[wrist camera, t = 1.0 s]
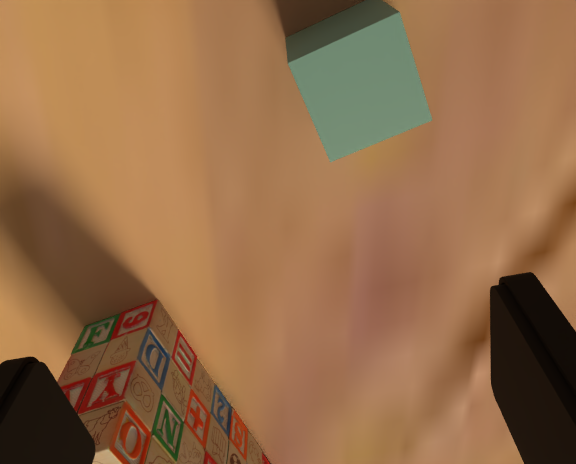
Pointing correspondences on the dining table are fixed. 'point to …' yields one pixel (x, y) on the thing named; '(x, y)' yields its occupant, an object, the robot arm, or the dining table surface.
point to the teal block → (358, 77)
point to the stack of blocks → (151, 395)
